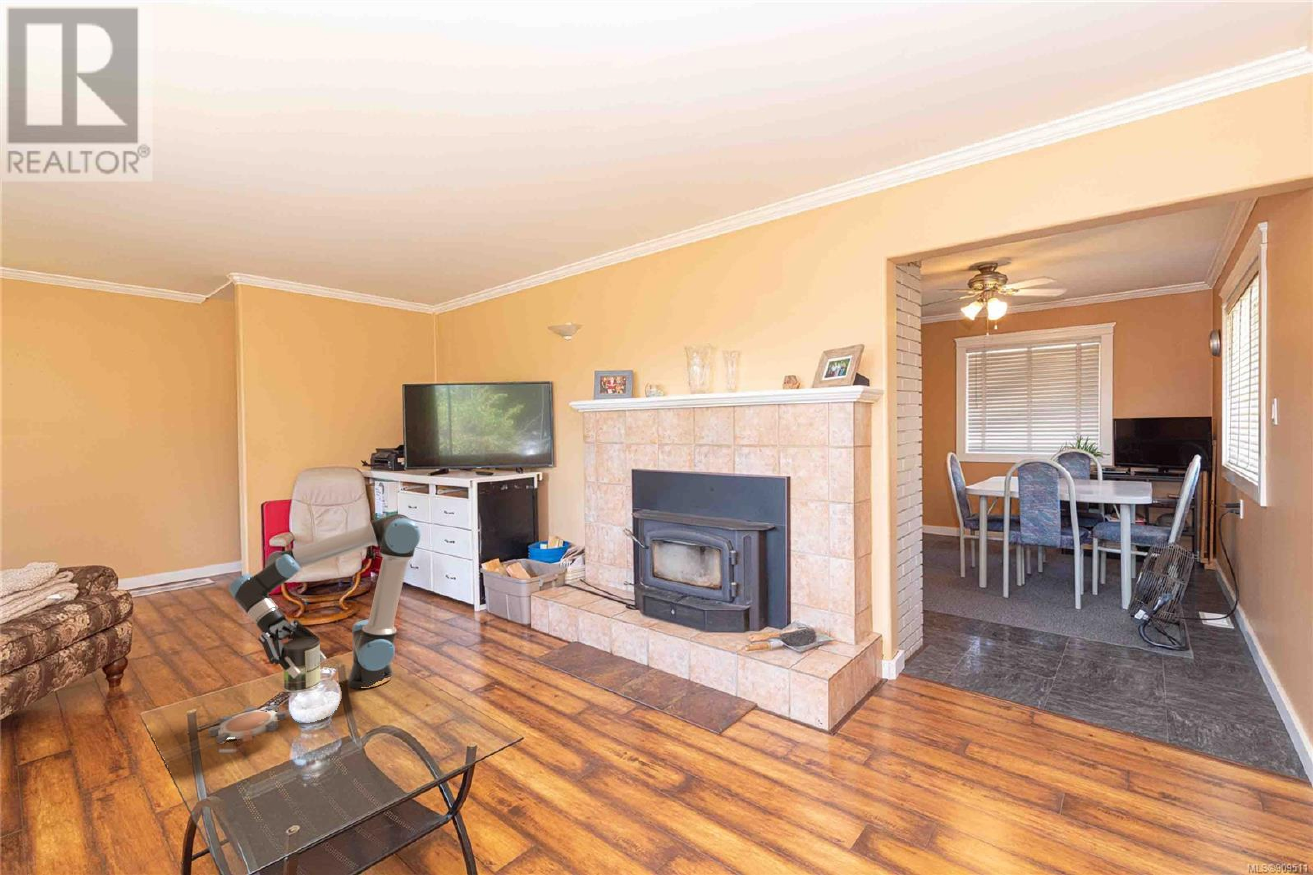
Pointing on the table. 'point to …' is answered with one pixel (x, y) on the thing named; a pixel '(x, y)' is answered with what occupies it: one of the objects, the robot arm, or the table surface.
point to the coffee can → (303, 664)
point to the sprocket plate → (247, 724)
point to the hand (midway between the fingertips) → (310, 668)
